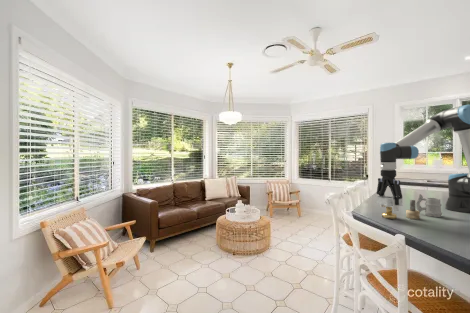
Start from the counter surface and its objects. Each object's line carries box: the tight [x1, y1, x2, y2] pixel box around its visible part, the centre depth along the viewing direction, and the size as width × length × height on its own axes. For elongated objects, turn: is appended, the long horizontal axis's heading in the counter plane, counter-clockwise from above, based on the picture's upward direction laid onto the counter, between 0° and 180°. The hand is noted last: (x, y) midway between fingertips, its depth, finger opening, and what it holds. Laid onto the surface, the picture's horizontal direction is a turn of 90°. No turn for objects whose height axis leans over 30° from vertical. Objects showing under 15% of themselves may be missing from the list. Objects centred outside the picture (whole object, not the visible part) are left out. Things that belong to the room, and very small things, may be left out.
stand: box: [405, 199, 421, 220], centre depth 130 cm, size 6×6×10 cm
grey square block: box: [375, 195, 403, 207], centre depth 132 cm, size 9×9×4 cm
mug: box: [415, 193, 443, 218], centre depth 136 cm, size 8×12×12 cm, turn 44°
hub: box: [381, 206, 398, 220], centre depth 132 cm, size 7×7×6 cm
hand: (388, 208), depth 132 cm, fingers closed on grey square block, 9 cm apart
